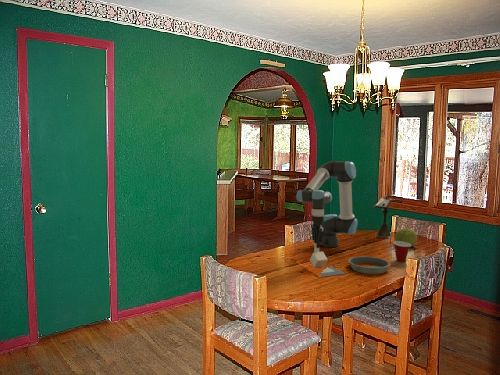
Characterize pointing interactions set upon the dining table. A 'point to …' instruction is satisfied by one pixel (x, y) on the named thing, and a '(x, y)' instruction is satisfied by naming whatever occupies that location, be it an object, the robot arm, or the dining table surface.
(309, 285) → the dining table surface
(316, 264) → the cream block
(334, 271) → the blue-grey flat triangle
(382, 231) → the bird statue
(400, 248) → the plastic cup
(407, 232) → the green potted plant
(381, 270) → the cake pan
